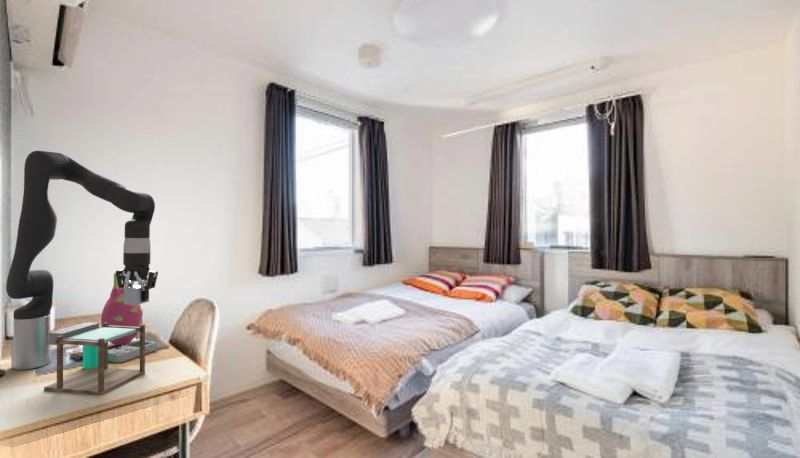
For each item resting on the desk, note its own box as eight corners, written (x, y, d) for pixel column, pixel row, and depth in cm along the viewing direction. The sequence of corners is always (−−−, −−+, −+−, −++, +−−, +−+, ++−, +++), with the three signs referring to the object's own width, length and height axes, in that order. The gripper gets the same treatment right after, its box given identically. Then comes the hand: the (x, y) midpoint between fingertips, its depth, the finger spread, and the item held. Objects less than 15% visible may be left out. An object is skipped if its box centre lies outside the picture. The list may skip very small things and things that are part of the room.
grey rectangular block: (123, 304, 125) (123, 287, 124) (135, 300, 129) (135, 285, 129) (137, 304, 124) (137, 288, 124) (149, 301, 129) (149, 285, 129)
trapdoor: (48, 344, 113) (48, 332, 113) (86, 332, 125) (86, 322, 125) (103, 348, 111) (103, 336, 111) (136, 335, 123) (136, 325, 123)
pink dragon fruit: (140, 348, 148) (140, 273, 148) (96, 354, 142) (97, 275, 141) (144, 336, 164) (144, 268, 163) (105, 341, 157) (105, 270, 156)
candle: (92, 369, 127) (92, 335, 127) (78, 368, 128) (78, 333, 128) (109, 363, 133) (109, 330, 133) (95, 361, 134) (95, 328, 134)
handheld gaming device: (101, 361, 136) (101, 351, 136) (140, 348, 150) (140, 339, 150) (119, 365, 133) (119, 354, 133) (157, 351, 147) (157, 341, 147)
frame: (44, 390, 112) (44, 335, 111) (94, 369, 127) (94, 321, 127) (101, 395, 109) (101, 339, 109) (145, 373, 125) (145, 324, 125)
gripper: (108, 251, 123) (107, 302, 124) (148, 252, 122) (147, 304, 122) (126, 249, 131) (126, 297, 131) (164, 250, 129) (164, 299, 130)
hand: (136, 300), depth 127 cm, fingers closed on grey rectangular block, 5 cm apart
